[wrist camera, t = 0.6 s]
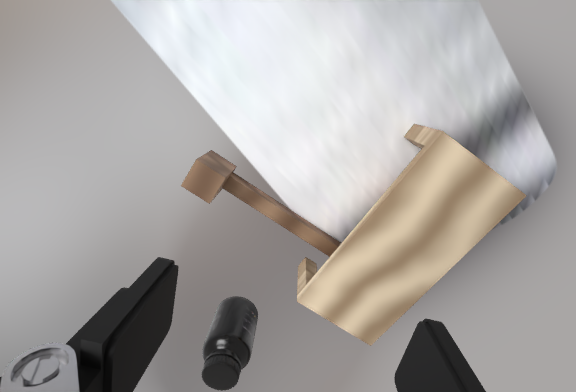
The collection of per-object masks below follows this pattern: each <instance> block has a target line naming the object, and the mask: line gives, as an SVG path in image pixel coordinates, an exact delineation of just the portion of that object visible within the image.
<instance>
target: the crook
mask: <svg viewBox="0 0 576 392" xmlns="http://www.w3.org/2000/svg"><path fill="white" fill-rule="evenodd" d="M235 168H236V166H235V165H233V164H231V163H230V162H229V161H227V160H226V159H224V158H223V157H221V156H220V155H218V154H217V153H215V152H214V151H212V150H211V151H209V152H208V153H206V154H204V155H203V156H201V157H199V158H198V159H196V161H195V163H194V164H193V166H192V168H191V169H190V171H189V173H188V175H187V176H186V178H185V180H184V182H183V183H182V185H181V186H182V187H184V188H185V189H187V190H188V191H190V192H192V193H193V194H195V195H196V196H198V197H200V198H201V199H203V200H204V201H206V202H207V203H210V202H211V201H212V200H213V199H214V198H215V197H216V196H217V194H218V193H219V192H220V191H221V190H222V189H225V190H227V191H228V192H229V193H231V194H233V195H234V196H236V197H237V198H239V199H240V200H242V201H244V202H245V203H247V204H249V205H250V206H251V207H253V208H255V209H256V210H258V211H259V212H261V213H262V214H264V215H265V216H267V217H268V218H270V219H272V220H273V221H275V222H276V223H278V224H280V225H281V226H283V227H284V228H286V229H287V230H289V231H290V232H292V233H294V234H295V235H297V236H298V237H300V238H301V239H303V240H305V241H306V242H307V243H309V244H311V245H312V246H314V247H315V248H317V249H318V250H320V251H322V252H323V253H325V254H326V255H328V256H329V257H330V256H331V255H332V254H333V253H334V252H335V250H336V249H337V248H338V247H339V246H340V245H341V243H340V242H339V241H337V240H336V239H334V238H333V237H331V236H330V235H328V234H327V233H325V232H323V231H322V230H320V229H319V228H317V227H316V226H314V225H313V224H311V223H310V222H308V221H307V220H305V219H304V218H302V217H301V216H299V215H297V214H296V213H294V212H293V211H291V210H290V209H288V208H287V207H285V206H284V205H282V204H281V203H279V202H278V201H276V200H274V199H273V198H271V197H270V196H268V195H267V194H265V193H264V192H262V191H261V190H259V189H258V188H256V187H255V186H253V185H251V184H250V183H248V182H247V181H245V180H244V179H242V178H241V177H239V176H238V175H236V174H235V173H233V171H234V170H235Z"/></svg>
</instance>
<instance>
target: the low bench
mask: <svg viewBox="0 0 576 392" xmlns="http://www.w3.org/2000/svg"><path fill="white" fill-rule="evenodd" d="M404 137H405V138H406V139H407V140H409V141H410V142H411V143H413V144H414V145H415V146H417V147H420V148H422V149H421V151H420V152H419V153H418V154H417V155H416V156H415V158H414V159H413V160H412V161H411V162H410V163H409V165H408V166H407V167H406V168H405V169H404V170H403V172H402V173H401V174H400V175H399V176H398V178H397V179H396V180H395V181H394V182H393V183H392V185H391V186H390V187H389V188H388V189H387V190H386V192H385V193H384V194H383V195H382V196H381V198H380V199H379V200H378V201H377V202H376V203H375V205H374V206H373V207H372V208H371V209H370V210H369V212H368V213H367V214H366V215H365V216H364V218H363V219H362V220H361V221H360V222H359V223H358V225H357V226H356V227H355V228H354V229H353V230H352V232H351V233H350V234H349V235H348V236H347V238H346V239H345V240H344V241H343V242H342V243H341V245H340V246H339V247H338V248H337V249H336V250H335V252H334V253H333V254H332V255H331V256H330V258H329V259H328V260H327V261H326V262H325V263H324V265H323V266H322V267H321V268H320V269H319V271H318V272H317V266H316V263H314V262H313V261H311V260H310V259H308V258H306V257H305V259H304V260H303V261H302V262H301V263H300V265H299V266H298V288H297V302H299V303H300V304H302V305H304V306H305V307H307V308H309V309H310V310H312V311H314V312H315V313H317V314H319V315H320V316H322V317H324V318H325V319H327V320H329V321H330V322H332V323H334V324H335V325H337V326H339V327H341V328H342V329H344V330H345V331H347V332H349V333H350V334H352V335H354V336H355V337H357V338H359V339H361V340H362V341H364V342H365V343H367V344H369V345H370V346H371V345H372V344H373V343H374V342H375V341H376V340H377V339H378V338H379V337H380V336H381V335H382V334H383V333H384V332H386V331H387V330H388V329H389V328H390V327H391V326H392V325H393V324H394V323H395V322H396V321H397V320H398V319H399V318H400V317H401V316H402V315H403V314H404V313H405V312H406V311H407V310H408V309H409V308H410V307H411V306H413V305H414V304H415V303H416V302H417V301H418V300H419V299H420V298H421V297H422V296H423V295H424V294H425V293H426V292H427V291H428V290H429V289H430V288H431V287H432V286H433V285H434V284H435V283H436V282H437V281H439V279H441V278H442V277H443V276H444V275H445V274H446V273H447V272H448V271H449V270H450V269H451V268H452V267H453V266H454V265H455V264H456V263H457V262H458V261H459V260H460V259H461V258H462V257H463V256H464V255H465V254H466V253H467V252H469V251H470V250H471V249H472V248H473V247H474V246H475V245H476V244H477V243H478V242H479V241H480V240H481V239H482V238H483V237H484V236H485V235H486V234H487V233H488V232H489V231H490V230H491V229H493V228H494V227H495V226H496V225H497V224H498V223H499V222H500V221H501V220H502V219H503V218H504V217H505V216H506V215H507V214H508V213H509V212H510V211H511V210H512V209H513V208H514V207H515V206H516V205H517V204H518V203H520V202H521V201H522V200H523V199H524V198H525V197H526V195H525V194H524V193H522V192H521V191H520V190H519V189H517V188H516V187H515V186H513V185H512V184H511V183H510V182H508V181H507V180H506V179H504V178H503V177H502V176H500V175H499V174H498V173H497V172H495V171H494V170H493V169H491V168H490V167H489V166H487V165H486V164H485V163H484V162H482V161H481V160H480V159H478V158H477V157H476V156H474V155H473V154H472V153H471V152H469V151H468V150H467V149H465V148H464V147H463V146H462V145H460V144H459V143H458V142H456V141H455V140H454V139H452V138H451V137H450V136H449V135H447V134H446V133H445V132H443V131H440V130H436V129H432V128H428V127H425V126H421V125H417V124H414V125H413V126H412V127H411V129H410V130H409V131H408V132H407V133H406V135H405V136H404Z"/></svg>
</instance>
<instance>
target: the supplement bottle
mask: <svg viewBox="0 0 576 392" xmlns="http://www.w3.org/2000/svg"><path fill="white" fill-rule="evenodd" d="M257 319H258V312H257V309H256V307H255V305H254V304H253V303H252V302H251V301H249V300H248V299H246V298H243V297H230V298H227V299H225V300H223V301H222V302H221V303H220V305H219V306H218V308H217V311H216V314H215V316H214V319H213V321H212V324H211V327H210V329H209V332H208V335H207V337H206V340H205V343H204V346H203V358H204V360H205V363H204V367H203V371H202V378H203V381H204V382H205V383H206V385H208V386H209V387H211V388H214V389H217V390H229V389H231V388H232V387H234V386H235V385H236V384H237V382H238V379H239V375H240V372H241V369H243V368H244V367H245V366H246V365H247V364H248V362H249V360H250V357H251V352H252V347H253V341H254V336H255V330H256V325H257Z"/></svg>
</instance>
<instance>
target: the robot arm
mask: <svg viewBox="0 0 576 392" xmlns="http://www.w3.org/2000/svg"><path fill="white" fill-rule="evenodd" d="M177 276H178V266H177V265H174V261H173V260H169V259H165V258H160V257H158V258H157V259H156V260H155V261H154V262H153V263H152V264H151V265H150V266H149V267H148V268H147V269H146V270H145V271H144V273H143V274H142V275H141V276H140V277H139V278H138V279H137V280H136V281H135V282H134V283H133V284H132V285H131V286H130V287H129V288H121V289H120V290H119V291H118V292H117V293H116V294H115V295H114V296H113V297H112V298H111V299H110V300H109V301H108V302H107V303H106V304H105V305H104V306H103V307H102V308H101V309H100V310H99V311H98V312H97V313H96V314H95V315H94V316H93V317H92V318H91V319H90V320H89V321H88V322H87V323H86V324H85V325H84V326H83V327H82V328H81V329H80V330H79V331H78V332H77V333H76V334H75V335H74V336H73V337H72V338H71V339H70V340H69V341H68V342H67V343H66V344H62V343H49V344H43V345H39V346H37V347H34V348H31V349H29V350H27V351H25V352H23V353H22V354H20V355H18V356H17V357H16V358H15V359H13V360H12V361H11V362H10V363H9V365H8V366H7V367H6V368H5V370H4V372H3V375H2V377H0V392H133V391H134V389H135V387H136V385H137V384H138V382H139V380H140V379H141V377H142V375H143V374H144V372H145V370H146V369H147V367H148V365H149V363H150V362H151V360H152V358H153V357H154V355H155V353H156V352H157V350H158V348H159V347H160V345H161V343H162V342H163V340H164V338H165V337H166V335H167V333H168V331H169V329H170V326H171V322H172V314H173V306H174V299H175V291H176V284H177ZM395 385H396V388H397V391H398V392H486V391H485V390H484V388H483V386H482V385H481V383H480V382H479V380H478V378H477V377H476V375H475V374H474V372H473V370H472V369H471V367H470V366H469V364H468V362H467V361H466V359H465V358H464V356H463V354H462V353H461V351H460V350H459V348H458V346H457V345H456V343H455V342H454V340H453V338H452V337H451V335H450V334H449V332H448V330H447V329H446V327H445V326H444V324H443V323H442V322H439V321H434V320H430V319H424V320H423V321H422V322H419V323H418V324H417V327H416V329H415V331H414V333H413V336H412V338H411V340H410V342H409V344H408V346H407V349H406V351H405V353H404V355H403V357H402V360H401V362H400V364H399V366H398V368H397V371H396V373H395Z"/></svg>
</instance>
